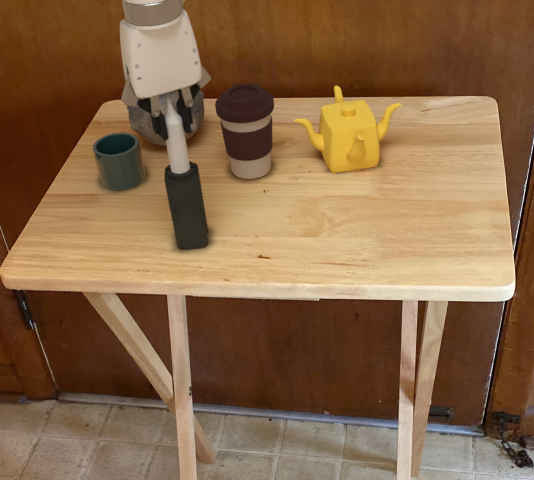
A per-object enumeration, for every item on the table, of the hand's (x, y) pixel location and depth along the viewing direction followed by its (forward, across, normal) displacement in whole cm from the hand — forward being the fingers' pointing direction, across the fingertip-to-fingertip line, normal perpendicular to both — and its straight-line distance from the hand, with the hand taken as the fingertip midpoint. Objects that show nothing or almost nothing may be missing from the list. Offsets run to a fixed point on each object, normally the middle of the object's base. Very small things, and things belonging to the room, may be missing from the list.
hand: (174, 131), depth 119 cm
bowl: (+20, -9, -33) cm, 40 cm away
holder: (+20, +4, -24) cm, 31 cm away
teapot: (+20, -34, -9) cm, 40 cm away
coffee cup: (+20, -17, -14) cm, 30 cm away
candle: (+20, 0, 0) cm, 20 cm away
